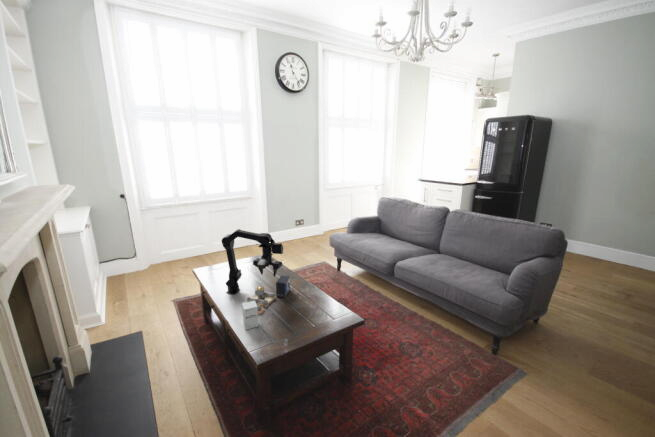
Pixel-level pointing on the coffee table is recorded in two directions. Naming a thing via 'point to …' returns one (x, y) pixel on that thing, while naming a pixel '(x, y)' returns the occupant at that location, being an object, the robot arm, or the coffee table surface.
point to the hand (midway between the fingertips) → (268, 275)
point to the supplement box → (250, 315)
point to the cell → (260, 292)
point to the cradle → (263, 303)
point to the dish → (260, 310)
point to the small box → (282, 286)
